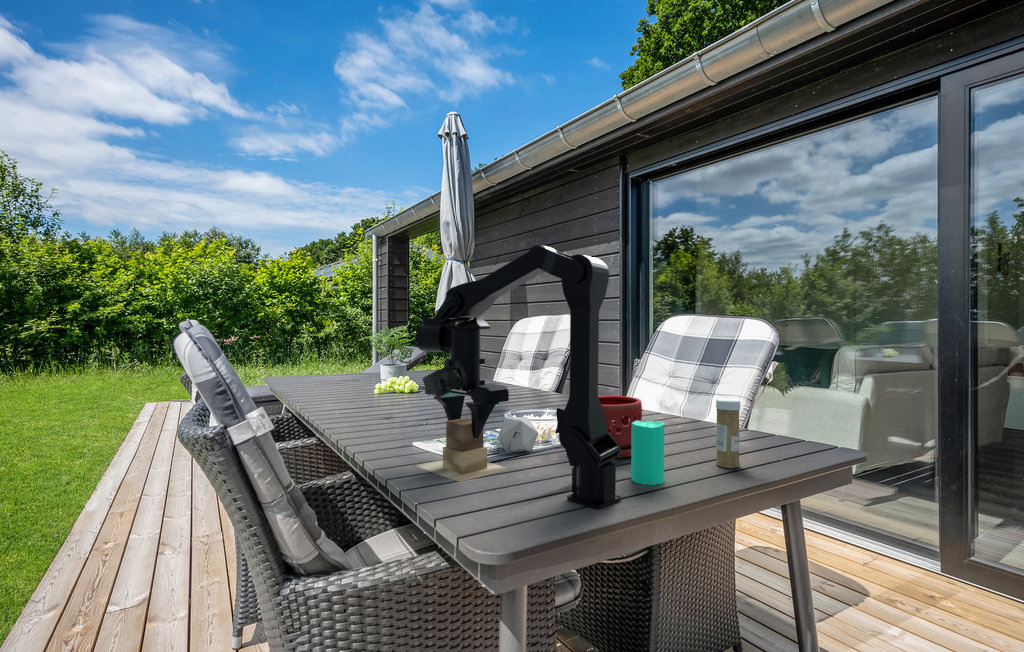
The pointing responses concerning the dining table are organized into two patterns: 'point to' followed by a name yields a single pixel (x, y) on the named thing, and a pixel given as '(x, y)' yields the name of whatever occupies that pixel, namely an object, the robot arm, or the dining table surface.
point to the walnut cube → (462, 435)
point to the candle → (647, 452)
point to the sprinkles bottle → (727, 432)
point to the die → (517, 434)
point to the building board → (438, 469)
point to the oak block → (465, 460)
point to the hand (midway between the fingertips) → (465, 435)
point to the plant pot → (621, 419)
